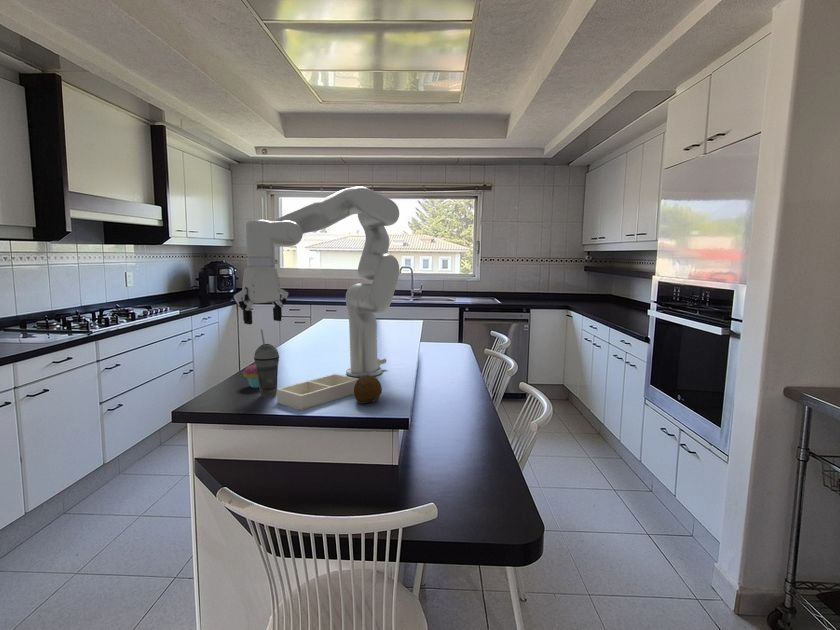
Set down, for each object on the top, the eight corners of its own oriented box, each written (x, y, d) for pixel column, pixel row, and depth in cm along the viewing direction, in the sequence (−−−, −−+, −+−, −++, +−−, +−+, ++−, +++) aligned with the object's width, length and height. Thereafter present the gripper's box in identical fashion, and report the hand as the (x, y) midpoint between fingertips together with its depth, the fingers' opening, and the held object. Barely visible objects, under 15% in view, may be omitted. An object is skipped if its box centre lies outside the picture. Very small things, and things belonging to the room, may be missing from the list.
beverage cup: (273, 399, 138) (270, 331, 135) (251, 398, 139) (247, 331, 136) (285, 392, 145) (282, 327, 142) (264, 391, 146) (260, 327, 144)
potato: (376, 394, 141) (376, 369, 140) (387, 406, 130) (387, 379, 129) (349, 397, 139) (348, 371, 138) (358, 410, 127) (357, 382, 126)
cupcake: (277, 383, 154) (275, 347, 153) (258, 390, 147) (256, 352, 145) (257, 381, 158) (255, 345, 156) (238, 387, 150) (235, 350, 149)
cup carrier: (335, 385, 151) (334, 373, 151) (359, 391, 144) (359, 379, 144) (277, 402, 134) (276, 389, 134) (301, 410, 127) (301, 396, 127)
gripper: (279, 263, 146) (280, 318, 148) (226, 263, 132) (228, 324, 134) (294, 263, 141) (295, 320, 143) (240, 263, 128) (243, 326, 130)
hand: (263, 322), depth 139 cm, fingers open, 9 cm apart
